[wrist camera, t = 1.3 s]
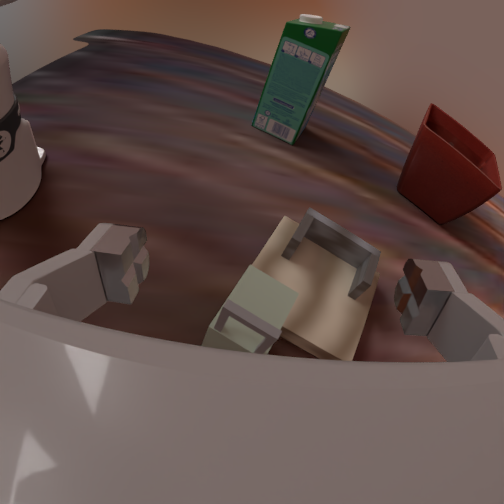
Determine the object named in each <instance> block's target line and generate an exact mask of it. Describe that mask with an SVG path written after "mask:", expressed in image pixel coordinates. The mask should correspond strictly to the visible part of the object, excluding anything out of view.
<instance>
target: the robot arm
mask: <svg viewBox="0 0 504 504" xmlns="http://www.w3.org/2000/svg"><path fill="white" fill-rule="evenodd" d="M15 1H17V0H0V6H3V5H6V4H10V3H12V2H15ZM45 157H46V154H45V151H44V149H42V148H39V147H37V146H36V143H35V140H34V136H33V133H32V130H31V126H30V123H29V122H28V121H27V120H25V119H22V118H21V115H20V106H19V103H18V101H17V97H16V95H15V94H13V89H12V82H11V75H10V68H9V60H8V54H7V51H6V49H5V48H4V47H3V46H2V45H1V44H0V220H2V219H4V218H6V217H8V216H10V215H12V214H14V213H15V212H17V211H18V210H19V209H21V208H22V207H23V206H24V205H25V204H26V203H27V202H28V201H29V200H30V199H31V198H32V196H33V195H34V194H35V192H36V190H37V189H38V187H39V184H40V181H41V166H42V164H43V162H44V160H45ZM146 241H147V237H146V231H145V229H144V228H143V227H135V226H127V225H118V224H110V223H99V224H98V225H97V226H96V227H95V228H94V230H93V231H92V232H91V233H90V234H89V235H88V236H87V237H86V238H85V239H84V241H83V242H82V243H81V244H80V245H79V246H78V247H77V249H70V250H68V251H66V252H63V253H61V254H59V255H57V256H55V257H52V258H50V259H48V260H46V261H44V262H42V263H39V264H37V265H35V266H33V267H31V268H29V269H27V270H25V271H23V272H21V273H19V274H17V275H14V276H13V277H12V278H11V279H10V280H9V281H8V283H7V284H6V285H5V286H4V287H3V288H2V290H1V291H0V504H504V319H503V318H502V317H500V316H499V315H498V314H497V313H496V312H494V311H493V310H492V309H491V308H489V307H488V306H487V305H486V304H484V303H483V302H482V301H480V300H479V299H478V298H477V297H475V296H474V295H473V294H469V293H468V292H467V290H466V288H465V287H464V285H463V283H462V282H461V280H460V278H459V276H458V275H457V273H456V271H455V270H454V268H453V266H452V265H451V264H450V263H448V262H440V261H428V260H418V259H408V260H407V262H406V263H405V265H404V268H403V271H404V274H405V276H403V277H402V278H401V279H400V280H398V283H397V286H396V288H395V294H394V302H395V306H396V309H397V310H398V311H399V312H400V313H401V314H402V315H401V317H400V322H401V325H402V328H403V332H404V335H416V336H427V338H428V339H429V340H430V342H431V343H432V344H433V345H434V346H435V347H436V349H437V350H438V351H439V352H440V353H441V355H442V356H443V357H444V358H445V359H446V361H447V362H363V361H342V360H325V359H311V358H298V357H287V356H276V355H266V354H257V353H249V352H240V351H233V350H225V349H218V348H211V347H204V346H198V345H191V344H185V343H179V342H173V341H168V340H162V339H157V338H152V337H146V336H141V335H136V334H131V333H127V332H122V331H117V330H113V329H108V328H104V327H99V326H95V325H91V324H87V323H83V322H80V321H82V320H83V319H84V318H86V317H87V316H89V315H90V314H91V313H93V312H94V311H95V310H97V309H98V308H99V307H101V306H102V305H104V304H105V303H106V302H107V301H112V302H118V303H124V304H132V302H133V300H134V299H135V297H136V295H137V293H138V291H139V288H138V284H139V283H141V282H143V281H144V280H145V278H146V276H147V273H148V269H149V252H148V251H147V250H146V248H145V247H144V244H145V243H146Z"/></svg>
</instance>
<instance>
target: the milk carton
mask: <svg viewBox="0 0 504 504" xmlns="http://www.w3.org/2000/svg"><path fill="white" fill-rule="evenodd" d="M322 20H323V18H322V17H320V16H315V15H305V14H301V15H300V18H299V19H296V20H292V21H289V22H287V23H286V25H285V28H284V31H283V34H282V36H281V39H280V42H279V45H278V48H277V50H276V53H275V57H274V59H273V62H272V65H271V68H270V71H269V74H268V77H267V80H266V83H265V86H264V89H263V92H262V95H261V98H260V101H259V104H258V107H257V110H256V113H255V116H254V120H253V123H252V126H254V127H256V128H258V129H260V130H262V131H264V132H266V133H269V134H271V135H273V136H275V137H277V138H279V139H281V140H283V141H285V142H287V143H289V144H291V145H293V144H294V143H295V142H296V140H297V139H298V137H299V136H300V134H301V133H302V132H303V130H304V129H305V127H306V125H307V123H308V121H309V119H310V116H311V114H312V112H313V110H314V107H315V105H316V103H317V101H318V98H319V96H320V94H321V92H322V90H323V87H324V85H325V83H326V81H327V78H328V76H329V74H330V72H331V70H332V67H333V65H334V63H335V61H336V58H337V56H338V54H339V52H340V49H341V47H342V45H343V43H344V41H345V38H346V36H347V34H348V32H349V30H350V27H349V26H345V25H340V24H335V23H330V22H324V21H322Z"/></svg>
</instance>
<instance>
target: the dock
mask: <svg viewBox="0 0 504 504" xmlns="http://www.w3.org/2000/svg"><path fill="white" fill-rule="evenodd" d="M380 253H381V251H379V250H378V249H376V248H374V247H373V246H371V245H370V244H368V243H367V242H365V241H363V240H362V239H360V238H359V237H357V236H356V235H354V234H352V233H351V232H349V231H348V230H346V229H344V228H343V227H341V226H339V225H338V224H336V223H335V222H333V221H331V220H330V219H328V218H326V217H325V216H323V215H321V214H320V213H318V212H316V211H315V210H313V209H311V208H310V207H309V209H308V211H307V212H306V214H305V216H304V217H303V219H302V221H301V223H300V224H298V223H297V222H295V221H293V220H291V219H290V218H288V217H286V216H284V217H283V219H282V220H281V222H280V223H279V225H278V226H277V228H276V229H275V231H274V232H273V234H272V235H271V237H270V239H269V240H268V242H267V243H266V245H265V246H264V248H263V249H262V251H261V252H260V254H259V255H258V257H257V258H256V260H255V261H254V263H253V264H252V266H254V267H255V268H257V269H259V270H260V271H262V272H264V273H265V274H267V275H269V276H270V277H272V278H274V279H275V280H277V281H279V282H280V283H282V284H284V285H285V286H287V287H289V288H291V289H292V290H294V291H296V292H297V293H299V295H298V297H297V299H296V301H295V303H294V305H293V306H292V308H291V310H290V312H289V314H288V316H287V318H286V320H285V322H284V324H283V326H282V328H281V331H282V332H281V334H280V336H281V337H282V338H284V339H286V340H288V341H289V342H291V343H293V344H294V345H296V346H298V347H300V348H301V349H303V350H305V351H307V352H309V353H310V354H312V355H314V356H316V357H318V358H319V359H325V360H342V361H352V359H353V357H354V354H355V351H356V348H357V345H358V342H359V340H360V337H361V334H362V331H363V328H364V325H365V322H366V319H367V316H368V312H369V309H370V306H371V303H372V300H373V296H374V293H375V290H376V286H377V283H378V279H379V276H380V274H379V273H378V272H376V268H377V264H378V261H379V257H380Z"/></svg>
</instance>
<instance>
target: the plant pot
mask: <svg viewBox="0 0 504 504" xmlns="http://www.w3.org/2000/svg"><path fill="white" fill-rule="evenodd" d="M397 190H398V191H399V192H400V193H401V194H402V195H404V196H405V197H406V198H408V199H409V200H410V201H411V202H413V203H414V204H415V205H417V206H418V207H419V208H420V209H422V210H423V211H424V212H425V213H427V214H428V215H429V216H430V217H431V218H433V219H434V220H435V221H436V222H438V223H439V224H441V225H442V224H445V223H448V222H450V221H452V220H455V219H457V218H459V217H461V216H463V215H465V214H467V213H469V212H471V211H472V210H474V209H476V208H477V207H479V206H480V205H482V204H484V203H485V202H486V201H488V200H489V199H491V198H492V197H493V196H495V195H496V194H497V193H498V192H499V191H500V190H502V187H501V181H500V176H499V171H498V167H497V162H496V157H495V155H494V153H493V152H492V151H491V150H490V149H489V148H488V147H486V146H485V145H484V144H483V143H482V142H481V141H480V140H478V139H477V138H476V137H475V136H474V135H473V134H472V133H470V132H469V131H468V130H467V129H466V128H464V127H463V126H462V125H461V124H459V123H458V122H457V121H456V120H454V119H453V118H452V117H450V116H449V115H448V114H446V113H445V112H444V111H442V110H441V109H440V108H438V107H437V106H436V105H434V104H432V103H431V104H430V106H429V108H428V110H427V112H426V114H425V117H424V119H423V121H422V124H421V126H420V128H419V131H418V133H417V136H416V138H415V141H414V143H413V146H412V148H411V150H410V152H409V155H408V157H407V160H406V162H405V165H404V167H403V170H402V173H401V176H400V179H399V182H398V185H397Z"/></svg>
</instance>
